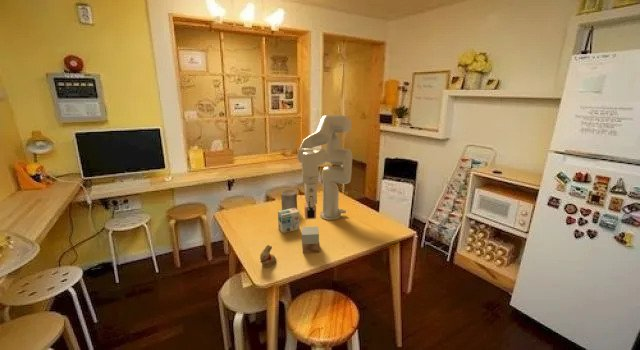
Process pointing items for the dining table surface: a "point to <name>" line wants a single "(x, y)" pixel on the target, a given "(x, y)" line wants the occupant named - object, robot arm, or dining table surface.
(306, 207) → the block
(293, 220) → the light bulb box
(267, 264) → the chocolate bunny
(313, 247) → the tower base
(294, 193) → the pillar candle
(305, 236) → the tower top
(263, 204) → the dining table surface
